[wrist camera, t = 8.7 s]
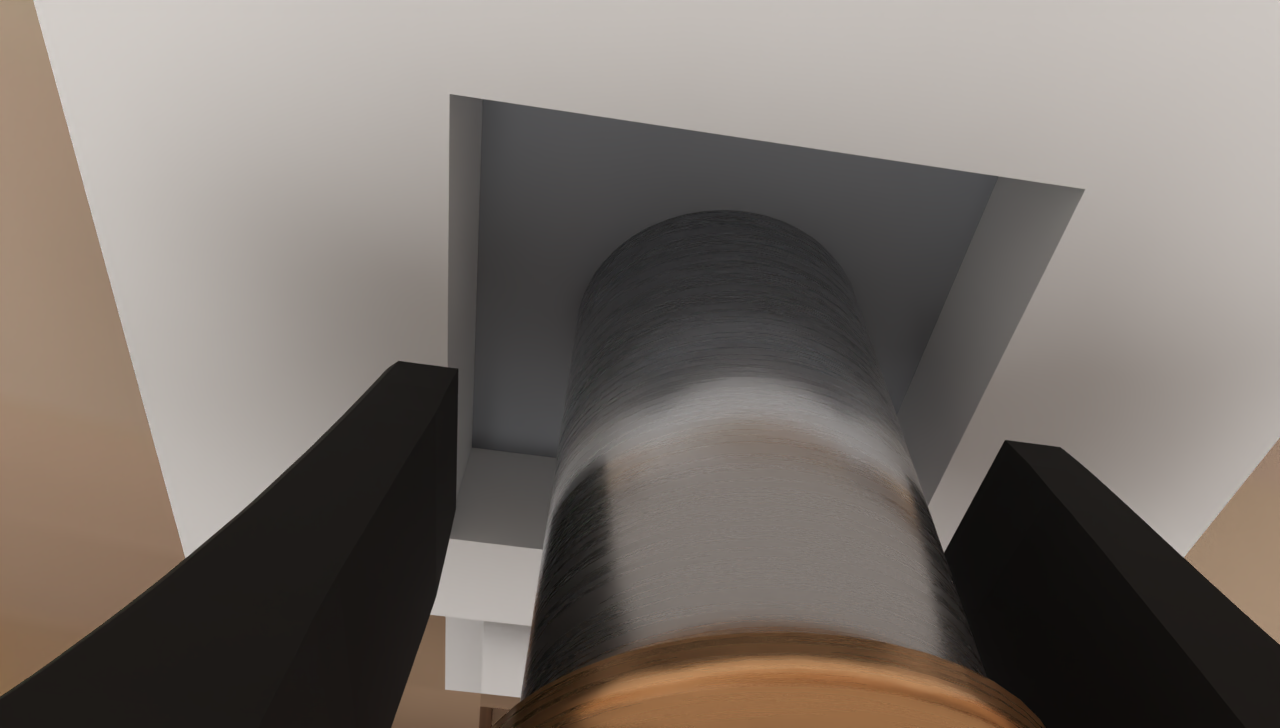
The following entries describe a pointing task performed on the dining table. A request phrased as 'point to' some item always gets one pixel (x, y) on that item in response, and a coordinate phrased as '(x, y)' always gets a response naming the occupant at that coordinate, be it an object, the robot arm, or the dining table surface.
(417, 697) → the mount block
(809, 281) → the pin
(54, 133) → the dining table surface
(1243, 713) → the robot arm
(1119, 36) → the dock plate
